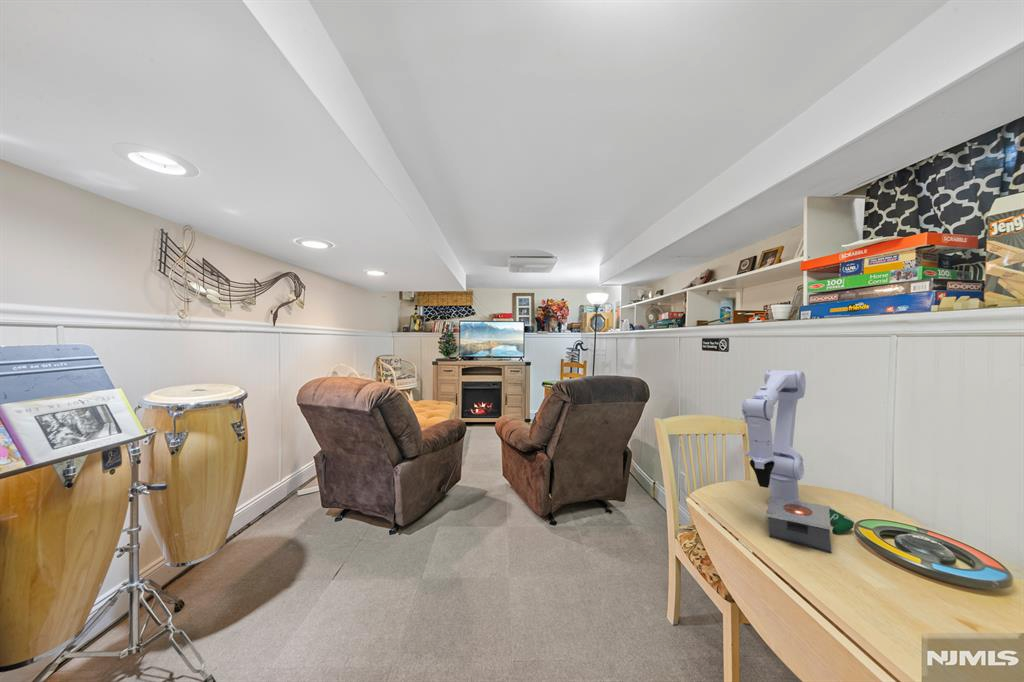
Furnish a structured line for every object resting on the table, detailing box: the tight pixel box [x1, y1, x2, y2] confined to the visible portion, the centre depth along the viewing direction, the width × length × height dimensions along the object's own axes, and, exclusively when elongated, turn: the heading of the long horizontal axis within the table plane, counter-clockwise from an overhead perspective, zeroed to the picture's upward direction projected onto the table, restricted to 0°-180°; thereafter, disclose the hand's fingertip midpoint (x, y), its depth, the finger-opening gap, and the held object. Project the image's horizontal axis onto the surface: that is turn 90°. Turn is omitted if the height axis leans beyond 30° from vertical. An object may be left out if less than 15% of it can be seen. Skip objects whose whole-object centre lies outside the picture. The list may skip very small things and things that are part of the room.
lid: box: [765, 496, 832, 531], centre depth 89 cm, size 13×13×1 cm
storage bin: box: [767, 517, 832, 554], centre depth 89 cm, size 16×12×6 cm
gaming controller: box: [828, 505, 855, 535], centre depth 92 cm, size 9×4×6 cm
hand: (764, 486), depth 96 cm, fingers closed
